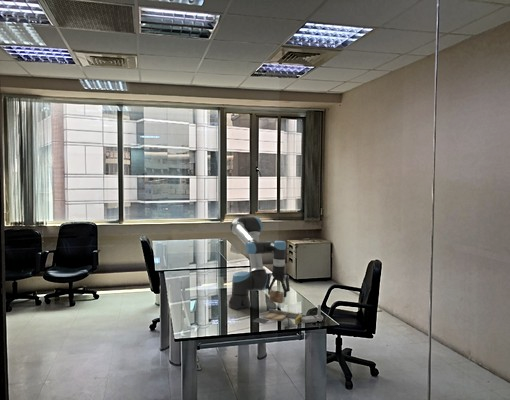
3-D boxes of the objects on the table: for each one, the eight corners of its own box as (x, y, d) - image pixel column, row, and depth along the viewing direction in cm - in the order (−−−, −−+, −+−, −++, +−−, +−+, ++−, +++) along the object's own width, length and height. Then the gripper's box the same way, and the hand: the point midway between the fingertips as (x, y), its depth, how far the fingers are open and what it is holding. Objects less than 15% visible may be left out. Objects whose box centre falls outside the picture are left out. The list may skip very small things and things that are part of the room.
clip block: (269, 301, 254) (270, 291, 254) (272, 299, 259) (272, 289, 259) (281, 303, 251) (282, 292, 251) (284, 301, 256) (284, 291, 256)
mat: (252, 322, 246) (252, 321, 246) (257, 318, 254) (257, 317, 254) (264, 324, 243) (264, 323, 243) (269, 320, 251) (269, 320, 251)
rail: (263, 318, 254) (263, 312, 254) (269, 313, 265) (269, 308, 264) (296, 324, 246) (297, 319, 246) (301, 319, 256) (302, 314, 256)
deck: (263, 318, 254) (263, 316, 254) (269, 313, 265) (269, 311, 265) (294, 324, 246) (295, 322, 246) (300, 319, 256) (300, 317, 256)
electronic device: (300, 305, 254) (321, 303, 260) (299, 321, 255) (320, 318, 260) (303, 308, 249) (325, 306, 254) (303, 323, 250) (324, 321, 255)
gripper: (261, 264, 255) (259, 299, 256) (292, 268, 247) (290, 305, 248) (265, 262, 262) (263, 297, 263) (296, 266, 254) (294, 302, 255)
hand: (276, 301), depth 255 cm, fingers closed on clip block, 8 cm apart
